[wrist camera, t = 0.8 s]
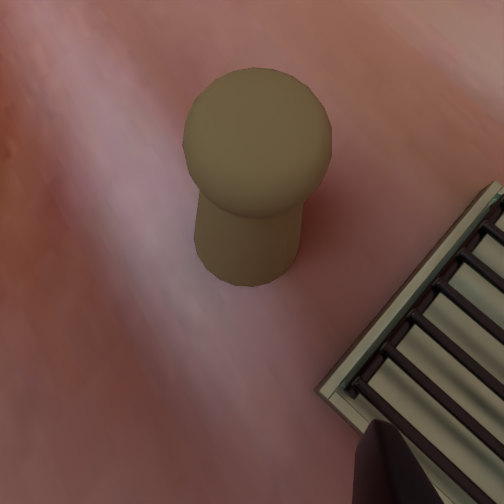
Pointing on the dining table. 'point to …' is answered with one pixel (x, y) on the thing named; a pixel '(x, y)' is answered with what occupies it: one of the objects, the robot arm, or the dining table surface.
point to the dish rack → (440, 360)
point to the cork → (254, 171)
